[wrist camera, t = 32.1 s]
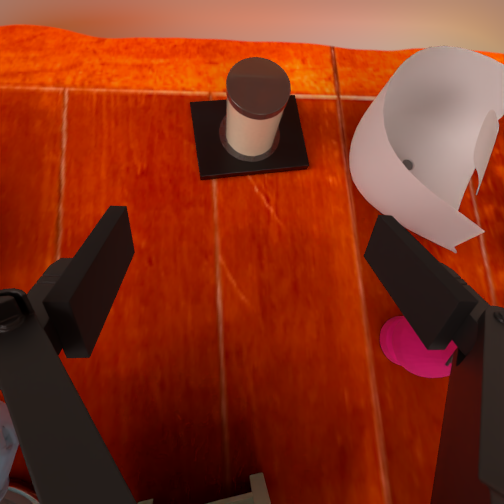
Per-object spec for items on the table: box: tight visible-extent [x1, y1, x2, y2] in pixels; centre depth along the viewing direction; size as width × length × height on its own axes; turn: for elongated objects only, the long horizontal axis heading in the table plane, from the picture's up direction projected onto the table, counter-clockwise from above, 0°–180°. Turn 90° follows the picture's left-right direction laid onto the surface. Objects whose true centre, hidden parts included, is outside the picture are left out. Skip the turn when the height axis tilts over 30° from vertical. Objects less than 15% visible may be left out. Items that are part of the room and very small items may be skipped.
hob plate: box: [190, 95, 309, 180], centre depth 41 cm, size 15×11×1 cm
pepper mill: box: [380, 316, 457, 378], centre depth 29 cm, size 7×7×20 cm
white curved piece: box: [349, 46, 504, 253], centre depth 37 cm, size 20×19×12 cm
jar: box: [226, 57, 291, 156], centre depth 36 cm, size 7×7×9 cm
